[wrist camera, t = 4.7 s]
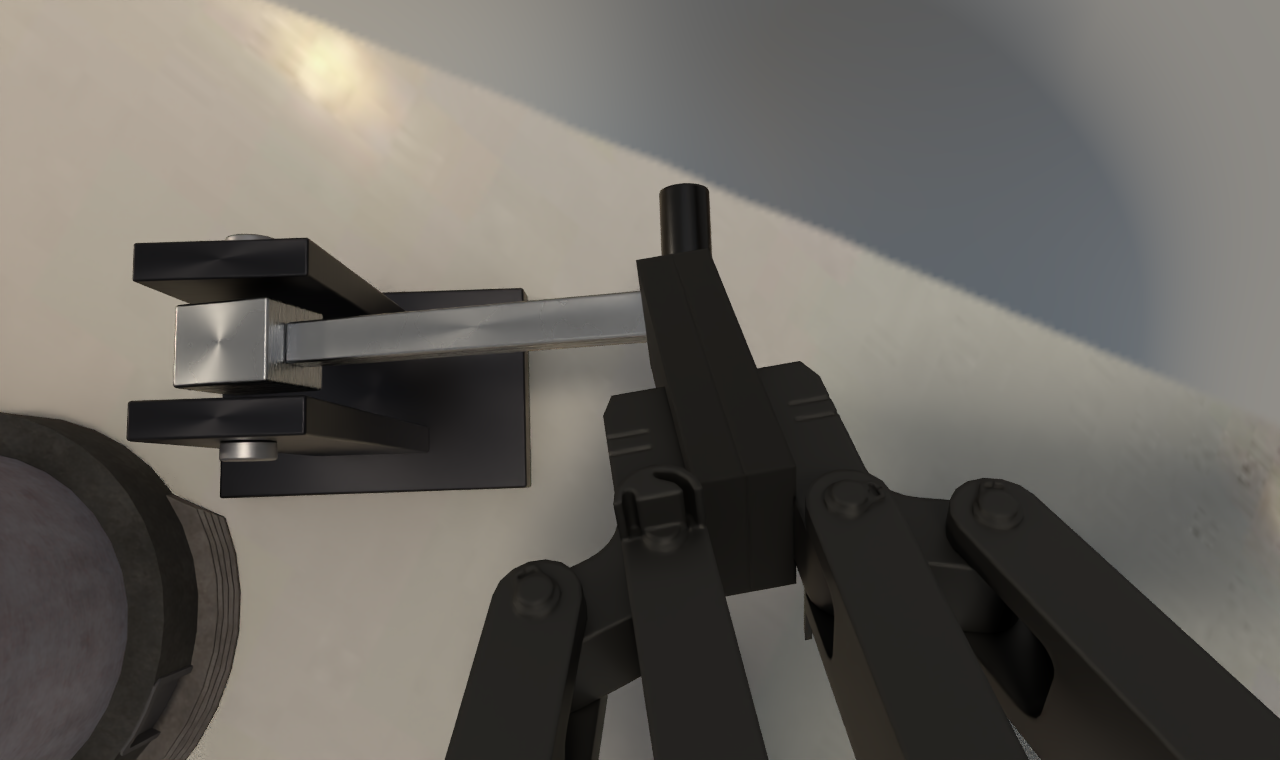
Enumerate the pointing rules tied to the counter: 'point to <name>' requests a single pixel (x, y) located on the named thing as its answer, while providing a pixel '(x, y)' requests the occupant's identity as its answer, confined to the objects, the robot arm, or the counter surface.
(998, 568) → the robot arm
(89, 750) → the grey piece
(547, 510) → the counter surface
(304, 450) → the bracket
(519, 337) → the lever
